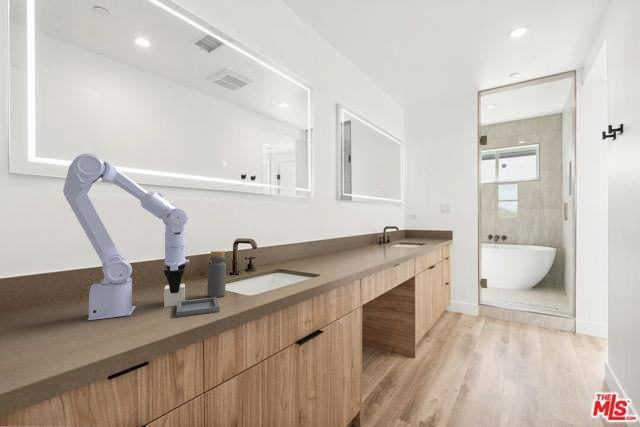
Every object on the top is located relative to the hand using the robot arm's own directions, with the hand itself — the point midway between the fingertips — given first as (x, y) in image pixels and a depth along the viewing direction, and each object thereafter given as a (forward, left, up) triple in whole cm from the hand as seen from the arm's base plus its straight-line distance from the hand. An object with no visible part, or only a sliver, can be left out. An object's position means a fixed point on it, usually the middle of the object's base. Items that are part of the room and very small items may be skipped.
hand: (175, 290), depth 91 cm
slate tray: (+6, -9, -4) cm, 12 cm away
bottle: (+12, +4, -4) cm, 14 cm away
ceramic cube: (0, 0, -4) cm, 4 cm away
